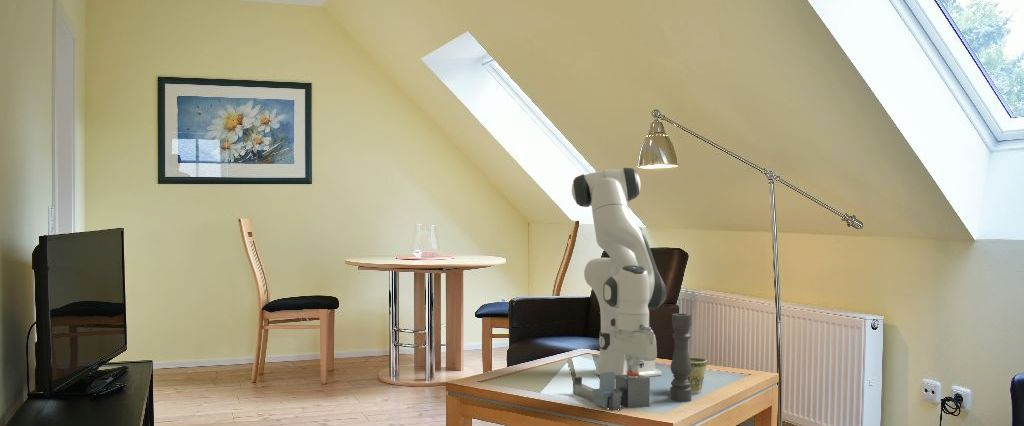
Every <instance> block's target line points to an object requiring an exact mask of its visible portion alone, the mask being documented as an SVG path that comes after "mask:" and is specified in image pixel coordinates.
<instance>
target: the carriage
mask: <svg viewBox="0 0 1024 426" xmlns="http://www.w3.org/2000/svg"><path fill="white" fill-rule="evenodd" d="M611 392H621V391H618V390H616V377H615V373H614V372H602V373H600V375H599V388H594V389H593V394H594V403H593V404H595V405H598V406H600V407H602V408H605V407H607V400H608V397H611ZM621 396H622V392H621ZM605 409H606V408H605Z"/></svg>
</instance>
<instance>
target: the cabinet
mask: <svg viewBox="0 0 1024 426" xmlns="http://www.w3.org/2000/svg"><path fill="white" fill-rule="evenodd" d="M650 380H651V379H650V377H645V376H642V375H638V378H629V377H628V375H627V374H625V375H616V377H615V389H616V390H618V391H621V392H622V396H621V397H620V407H624V408H626V409H634V408H645V407H650V396H651V395H650V392H651V391H650V385H651V383H650V382H651V381H650Z"/></svg>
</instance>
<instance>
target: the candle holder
mask: <svg viewBox="0 0 1024 426" xmlns="http://www.w3.org/2000/svg"><path fill="white" fill-rule="evenodd" d="M692 317H693V316H692V314H689V313H678V312H677V313H672V314H671V326H672V329H673V331H674V333H673V334H672V338H673V339H674V351H673V355H672V359H671V361H670V362H671V363H670V370H671V373H672V374H673V375H672V376H673V379H672V381H671V382H670V384H671V386H670V387H669V400H670V401H672V402H676V403H677V402H678V403H687V402H691V401H692V394H691V388H690V387H689V386H690V385H691V384H690V382H689V380H688V377H689V376H688V375H689V374H690V373H691V370H692V367H691V362H690V357H691V356H690V354H689V353H690V352H689V340H690V339H691V334H689V332H690V330H691V327H692V323H693V322H692Z"/></svg>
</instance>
